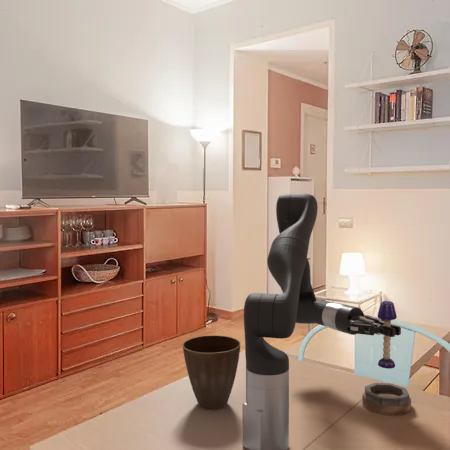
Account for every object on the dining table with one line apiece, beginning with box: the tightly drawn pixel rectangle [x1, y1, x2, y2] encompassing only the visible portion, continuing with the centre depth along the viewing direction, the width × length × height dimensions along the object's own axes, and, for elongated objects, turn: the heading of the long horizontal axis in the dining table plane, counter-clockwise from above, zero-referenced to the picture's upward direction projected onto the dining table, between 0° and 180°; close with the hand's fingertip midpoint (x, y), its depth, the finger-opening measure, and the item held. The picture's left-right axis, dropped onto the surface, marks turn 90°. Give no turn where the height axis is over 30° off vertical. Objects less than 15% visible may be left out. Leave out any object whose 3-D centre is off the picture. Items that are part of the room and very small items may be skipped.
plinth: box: [361, 382, 412, 416], centre depth 131 cm, size 12×12×4 cm
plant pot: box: [182, 335, 241, 411], centre depth 132 cm, size 15×15×16 cm
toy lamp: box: [377, 300, 398, 370], centre depth 130 cm, size 5×5×17 cm
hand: (397, 332), depth 127 cm, fingers closed on toy lamp
